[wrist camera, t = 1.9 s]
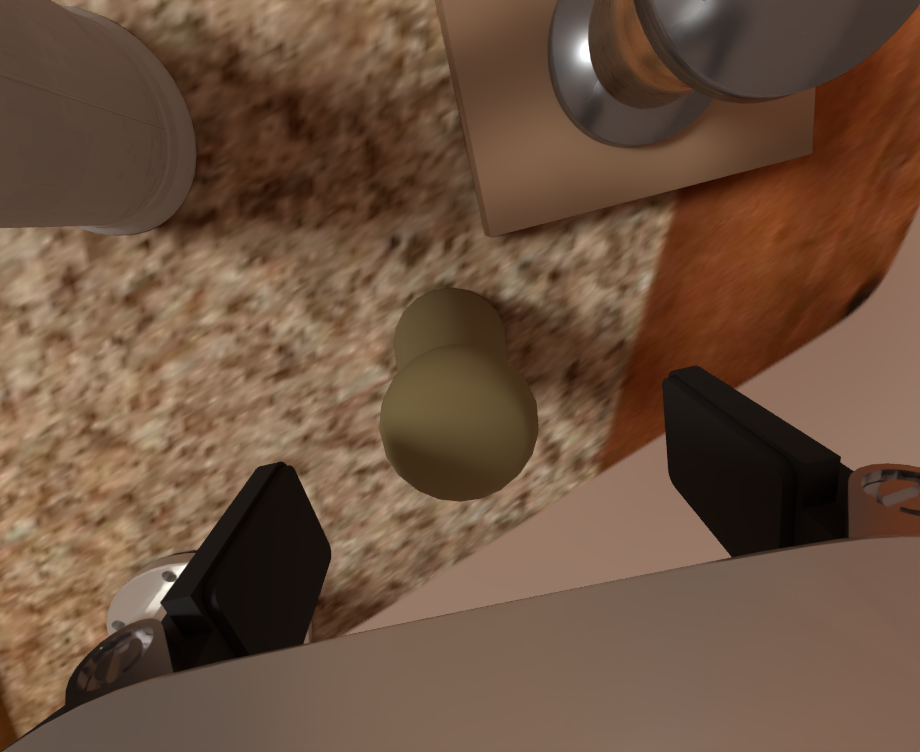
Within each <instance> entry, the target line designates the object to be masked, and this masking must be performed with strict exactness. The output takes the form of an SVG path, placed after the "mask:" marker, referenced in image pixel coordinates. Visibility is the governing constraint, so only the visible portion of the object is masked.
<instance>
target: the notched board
mask: <svg viewBox="0 0 920 752" xmlns="http://www.w3.org/2000/svg"><path fill="white" fill-rule="evenodd" d="M435 2H436V7H437V11H438V16H439V21H440V25H441V30H442V35H443V40H444V44H445V49H446V54H447V58H448V63H449V68H450V73H451V77H452V82H453V87H454V91H455V96H456V101H457V105H458V110H459V115H460V120H461V124H462V129H463V134H464V138H465V143H466V148H467V153H468V157H469V162H470V167H471V171H472V176H473V181H474V186H475V190H476V195H477V200H478V204H479V209H480V214H481V219H482V223H483V228H484V233H485V235H486V236H489V237H494V236H498V235H502V234H506V233H509V232H513V231H517V230H521V229H525V228H529V227H533V226H537V225H540V224H544V223H548V222H552V221H556V220H560V219H564V218H567V217H571V216H575V215H579V214H583V213H587V212H591V211H594V210H598V209H602V208H606V207H610V206H614V205H618V204H621V203H625V202H629V201H633V200H637V199H641V198H645V197H648V196H652V195H656V194H660V193H664V192H668V191H672V190H675V189H679V188H683V187H687V186H691V185H695V184H699V183H702V182H706V181H710V180H714V179H718V178H722V177H726V176H729V175H733V174H737V173H741V172H745V171H749V170H753V169H756V168H760V167H764V166H768V165H772V164H776V163H780V162H783V161H787V160H791V159H795V158H799V157H803V156H807V155H810V154H813V133H814V113H815V93H816V87H813V88H810V89H807V90H804V91H801V92H799V93H796V94H793V95H790V96H787V97H784V98H781V99H778V100H773V101H768V102H762V103H748V104H740V103H732V102H724V101H721V100H717V99H713V101H712V102H711V103H710V105H709V106H708V107H707V108H706V109H705V110H704V111H703V113H702V114H701V115H700V116H699V117H698V118H696V119H695V120H694V121H693V122H692V123H691V124H689V125H688V126H687V127H685V128H684V129H682V130H681V131H679V132H678V133H676V134H674V135H672V136H670V137H667V138H665V139H662V140H659V141H657V142H654V143H651V144H648V145H644V146H639V147H630V148H621V147H612V146H609V145H605V144H602V143H600V142H597V141H595V140H593V139H591V138H590V137H588V136H587V135H585V134H583V133H582V132H581V131H580V130H579V129H578V128H577V127H575V126H574V124H573V123H572V122H571V121H570V120H569V119H568V117H567V116H566V114H565V113H564V111H563V110H562V108H561V106H560V104H559V102H558V100H557V98H556V96H555V93H554V89H553V86H552V83H551V79H550V74H549V67H548V37H549V29H550V24H551V20H552V16H553V12H554V9H555V6H556V3H557V0H435Z"/></svg>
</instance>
